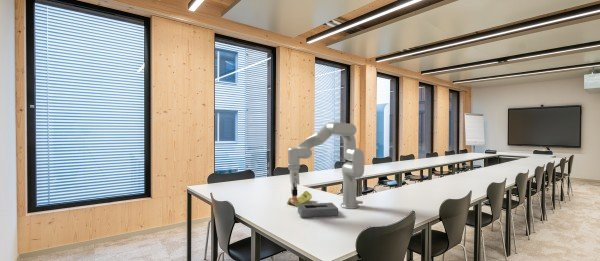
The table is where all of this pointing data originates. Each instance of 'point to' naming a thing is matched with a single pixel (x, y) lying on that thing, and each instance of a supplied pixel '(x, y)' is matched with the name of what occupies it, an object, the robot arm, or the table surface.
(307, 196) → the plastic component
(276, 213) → the table surface
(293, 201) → the peg
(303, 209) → the keyhole plate
